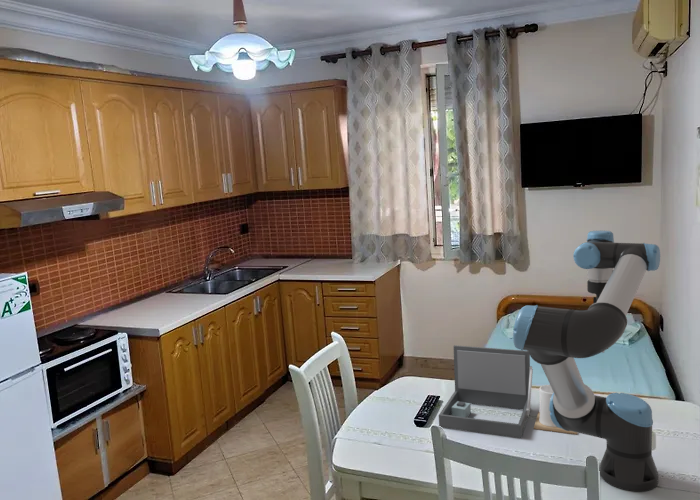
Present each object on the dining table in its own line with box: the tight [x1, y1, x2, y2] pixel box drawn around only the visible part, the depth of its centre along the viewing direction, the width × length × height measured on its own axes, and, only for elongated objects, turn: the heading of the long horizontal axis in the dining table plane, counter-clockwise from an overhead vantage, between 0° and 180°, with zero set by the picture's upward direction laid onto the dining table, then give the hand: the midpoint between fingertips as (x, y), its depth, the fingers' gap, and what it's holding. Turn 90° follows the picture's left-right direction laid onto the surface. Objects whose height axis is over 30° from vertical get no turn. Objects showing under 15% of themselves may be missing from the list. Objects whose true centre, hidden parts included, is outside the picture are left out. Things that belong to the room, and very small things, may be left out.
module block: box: [451, 401, 472, 418], centre depth 213 cm, size 6×5×5 cm
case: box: [438, 344, 534, 439], centre depth 208 cm, size 24×29×22 cm
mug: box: [538, 384, 557, 427], centre depth 202 cm, size 12×8×12 cm
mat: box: [533, 411, 578, 436], centre depth 203 cm, size 14×14×1 cm
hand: (600, 345), depth 185 cm, fingers open, 13 cm apart
